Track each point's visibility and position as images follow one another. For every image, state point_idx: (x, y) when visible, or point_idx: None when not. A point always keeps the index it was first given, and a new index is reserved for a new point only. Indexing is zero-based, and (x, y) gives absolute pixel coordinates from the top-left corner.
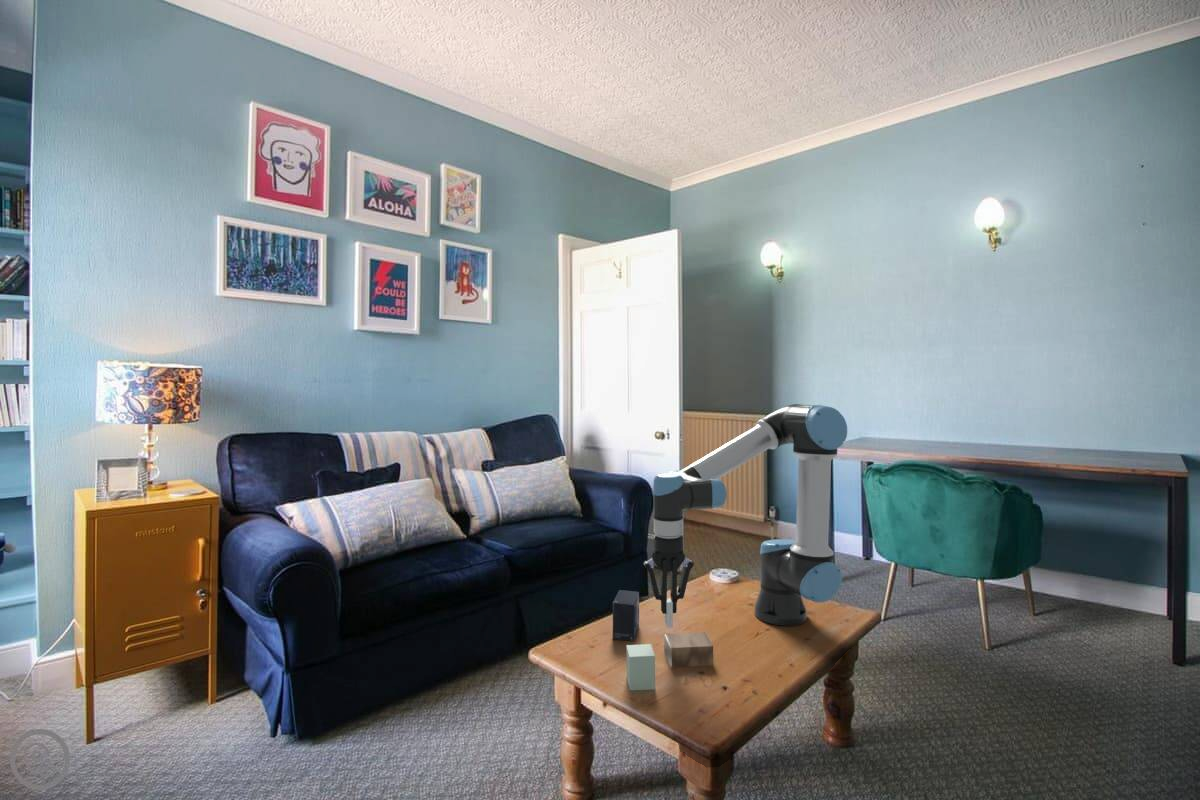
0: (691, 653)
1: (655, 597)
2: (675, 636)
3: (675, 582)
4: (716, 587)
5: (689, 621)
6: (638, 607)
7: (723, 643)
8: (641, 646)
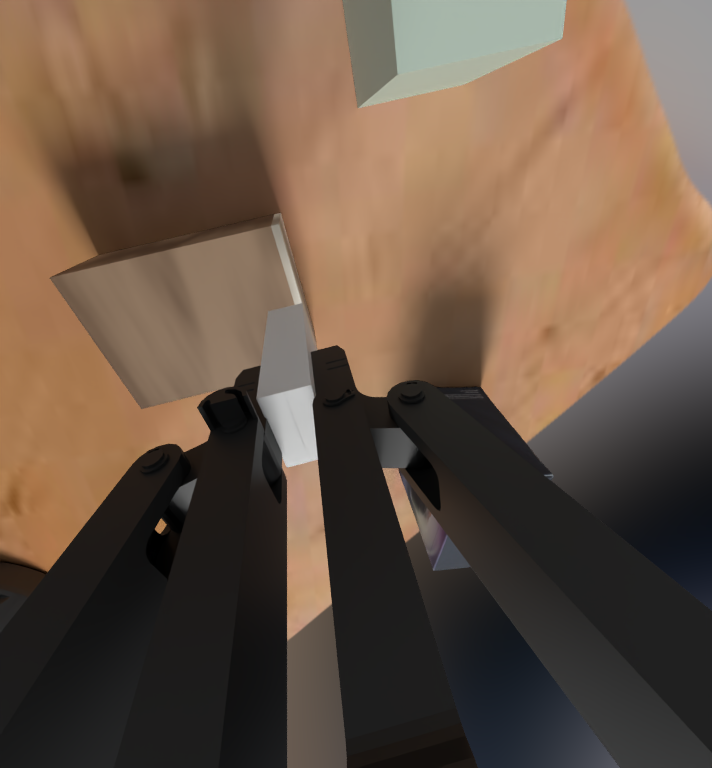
0: (176, 243)
1: (435, 390)
2: None
3: (178, 624)
4: None
5: None
6: (422, 508)
7: (112, 426)
8: (465, 17)
